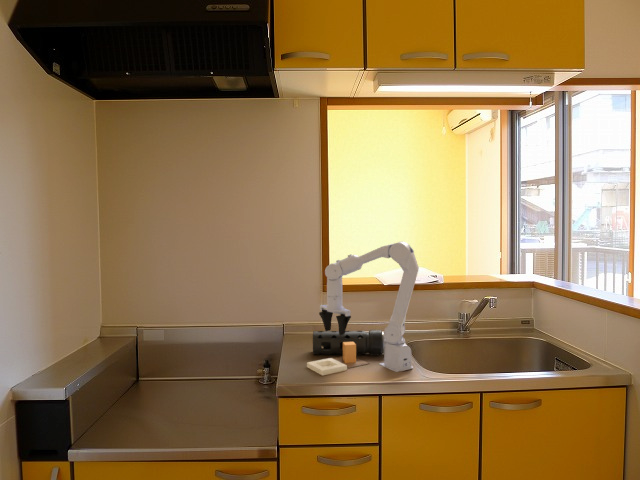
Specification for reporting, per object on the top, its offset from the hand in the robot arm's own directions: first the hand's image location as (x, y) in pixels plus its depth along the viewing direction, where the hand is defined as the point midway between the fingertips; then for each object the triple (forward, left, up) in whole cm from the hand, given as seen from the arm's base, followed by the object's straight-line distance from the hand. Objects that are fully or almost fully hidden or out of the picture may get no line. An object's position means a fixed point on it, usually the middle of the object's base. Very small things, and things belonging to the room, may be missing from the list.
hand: (334, 332), depth 167 cm
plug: (-5, -3, -10) cm, 11 cm away
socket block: (-7, +8, -10) cm, 15 cm away
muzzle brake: (+8, -12, -6) cm, 15 cm away
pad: (-5, -3, -10) cm, 12 cm away
